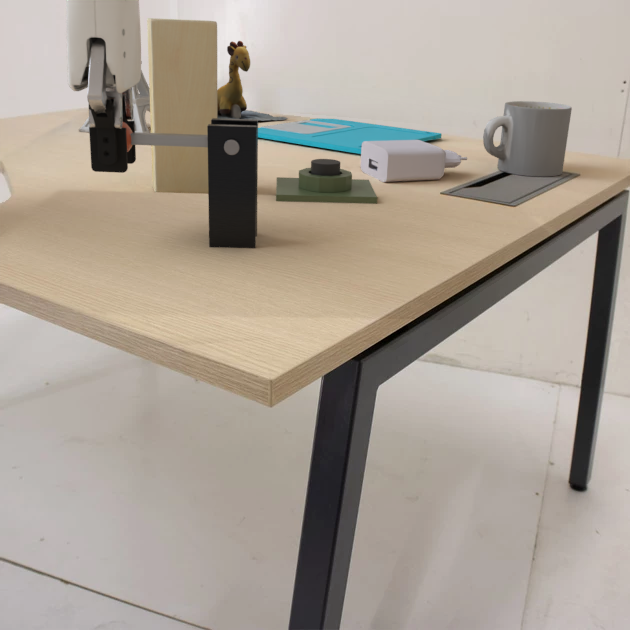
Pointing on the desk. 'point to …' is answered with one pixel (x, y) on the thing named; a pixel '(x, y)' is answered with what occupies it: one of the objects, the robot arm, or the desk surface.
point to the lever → (164, 139)
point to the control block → (325, 188)
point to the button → (325, 167)
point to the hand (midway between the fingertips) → (114, 164)
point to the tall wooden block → (181, 99)
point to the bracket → (232, 182)
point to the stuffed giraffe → (237, 89)
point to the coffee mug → (530, 138)
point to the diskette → (339, 133)
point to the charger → (406, 160)
